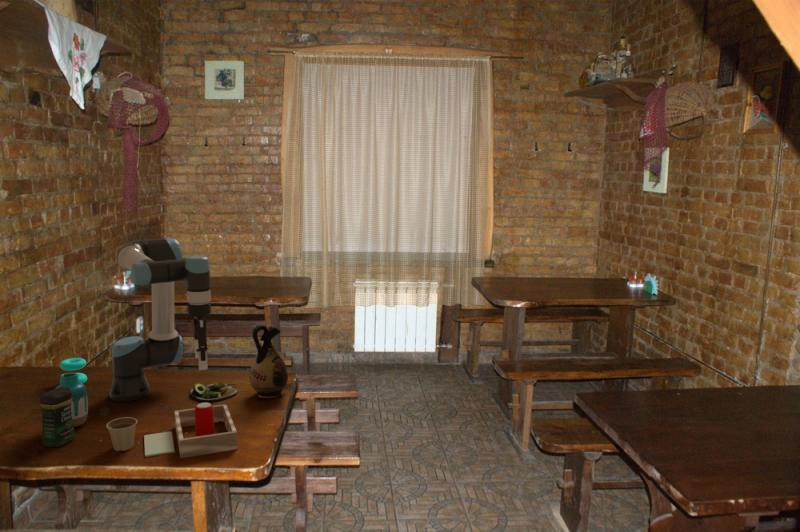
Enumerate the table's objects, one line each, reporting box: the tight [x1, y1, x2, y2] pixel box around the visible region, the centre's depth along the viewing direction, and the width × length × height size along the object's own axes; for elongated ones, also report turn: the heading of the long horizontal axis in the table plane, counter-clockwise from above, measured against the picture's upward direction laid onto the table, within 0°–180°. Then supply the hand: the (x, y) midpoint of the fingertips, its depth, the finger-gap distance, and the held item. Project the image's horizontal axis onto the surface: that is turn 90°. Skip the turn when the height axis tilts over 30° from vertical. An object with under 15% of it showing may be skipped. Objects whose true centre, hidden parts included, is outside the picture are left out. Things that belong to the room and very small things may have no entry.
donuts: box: [59, 357, 88, 384], centre depth 264 cm, size 10×10×10 cm
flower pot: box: [105, 416, 138, 452], centre depth 206 cm, size 9×9×9 cm
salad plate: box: [189, 382, 238, 403], centre depth 256 cm, size 19×18×5 cm
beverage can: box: [194, 402, 215, 437], centre depth 214 cm, size 6×6×12 cm
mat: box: [143, 431, 176, 458], centre depth 209 cm, size 16×9×1 cm, turn 23°
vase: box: [55, 372, 89, 428], centre depth 221 cm, size 11×11×19 cm
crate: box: [174, 403, 238, 459], centre depth 214 cm, size 26×18×6 cm
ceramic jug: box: [249, 324, 289, 399], centre depth 252 cm, size 17×15×30 cm
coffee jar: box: [39, 387, 76, 448], centre depth 208 cm, size 10×8×19 cm
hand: (201, 363), depth 210 cm, fingers open, 13 cm apart
